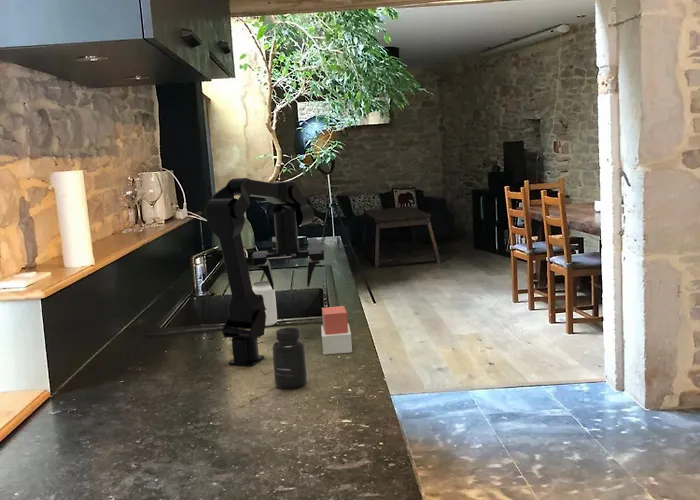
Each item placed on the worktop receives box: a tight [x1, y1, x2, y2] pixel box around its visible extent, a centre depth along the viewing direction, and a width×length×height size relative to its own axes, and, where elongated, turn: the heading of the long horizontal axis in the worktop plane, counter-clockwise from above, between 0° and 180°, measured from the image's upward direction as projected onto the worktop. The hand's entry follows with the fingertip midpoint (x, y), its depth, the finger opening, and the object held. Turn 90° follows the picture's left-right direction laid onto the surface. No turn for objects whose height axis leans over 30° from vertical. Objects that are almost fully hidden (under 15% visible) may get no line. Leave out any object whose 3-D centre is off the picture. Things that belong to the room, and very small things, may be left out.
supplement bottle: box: [272, 326, 308, 391], centre depth 146 cm, size 7×7×12 cm
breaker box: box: [320, 323, 353, 356], centre depth 171 cm, size 10×7×4 cm
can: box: [252, 280, 278, 327], centre depth 198 cm, size 6×6×12 cm
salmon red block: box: [321, 305, 349, 335], centre depth 170 cm, size 7×6×5 cm
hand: (290, 288), depth 182 cm, fingers open, 9 cm apart
